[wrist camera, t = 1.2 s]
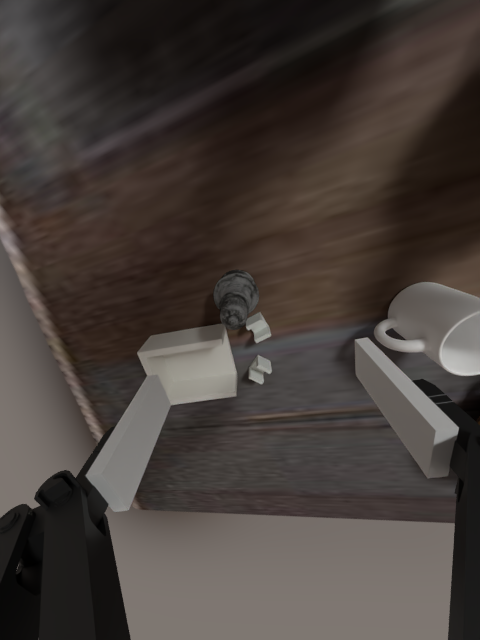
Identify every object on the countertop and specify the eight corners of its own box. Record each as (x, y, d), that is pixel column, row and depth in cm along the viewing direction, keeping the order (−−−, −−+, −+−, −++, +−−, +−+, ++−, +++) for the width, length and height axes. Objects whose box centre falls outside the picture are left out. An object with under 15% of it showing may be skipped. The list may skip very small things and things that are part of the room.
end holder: (150, 335, 36) (136, 352, 32) (224, 323, 35) (221, 338, 30) (170, 384, 40) (160, 406, 36) (237, 375, 39) (236, 396, 34)
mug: (361, 344, 36) (402, 390, 26) (356, 296, 33) (401, 329, 23) (444, 325, 34) (519, 366, 25) (447, 273, 31) (535, 297, 22)
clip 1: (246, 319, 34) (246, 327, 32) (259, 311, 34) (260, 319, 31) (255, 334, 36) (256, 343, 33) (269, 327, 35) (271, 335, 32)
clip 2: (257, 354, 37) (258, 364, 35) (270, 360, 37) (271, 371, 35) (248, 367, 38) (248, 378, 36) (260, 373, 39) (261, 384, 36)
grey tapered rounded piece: (243, 259, 31) (242, 282, 20) (265, 294, 33) (274, 333, 22) (208, 281, 32) (189, 314, 21) (230, 314, 34) (223, 360, 23)
